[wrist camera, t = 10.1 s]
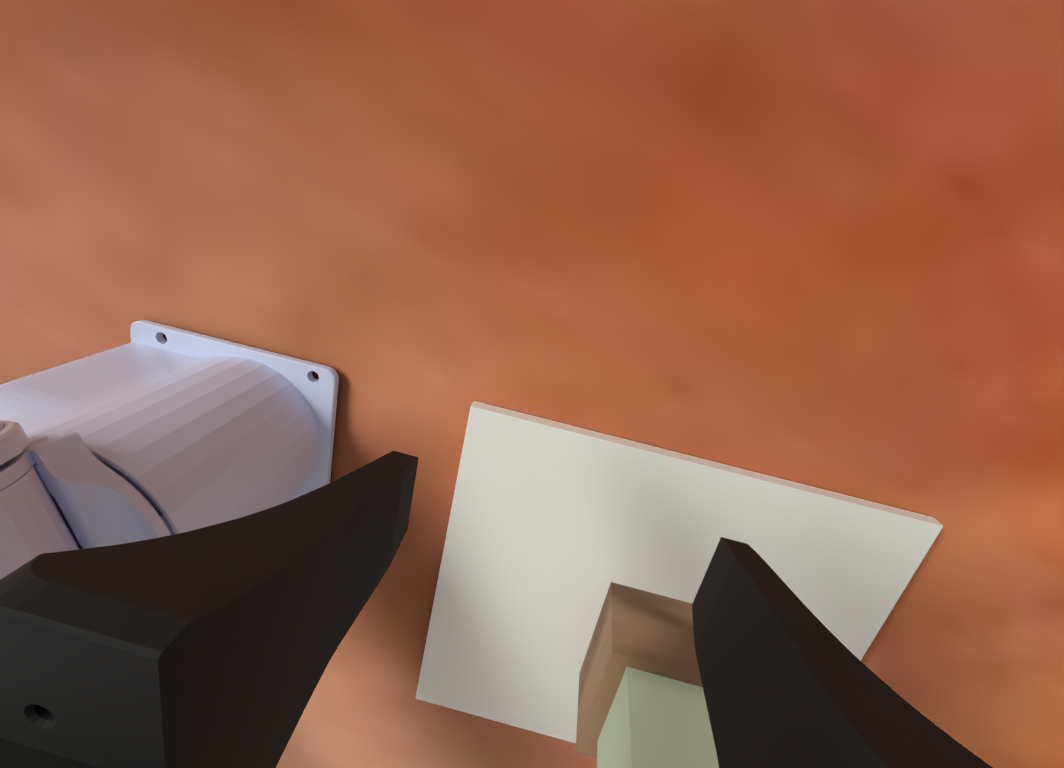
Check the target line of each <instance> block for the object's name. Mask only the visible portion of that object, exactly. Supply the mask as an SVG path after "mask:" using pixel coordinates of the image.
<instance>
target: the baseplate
mask: <svg viewBox="0 0 1064 768" xmlns="http://www.w3.org/2000/svg"><path fill="white" fill-rule="evenodd" d="M942 528H943V525H942V524H941V523H940V522H939V521H938V520H937V519H936V518H935V517H931V516H927V515H923V514H919V513H915V512H911V511H907V510H903V509H899V508H895V507H891V506H887V505H883V504H879V503H875V502H871V501H868V500H864V499H860V498H856V497H852V496H848V495H844V494H840V493H836V492H832V491H828V490H824V489H820V488H816V487H812V486H808V485H804V484H800V483H797V482H793V481H789V480H785V479H781V478H777V477H773V476H769V475H765V474H761V473H757V472H753V471H749V470H745V469H741V468H737V467H733V466H729V465H725V464H722V463H718V462H714V461H710V460H706V459H702V458H698V457H694V456H690V455H686V454H682V453H678V452H674V451H670V450H666V449H662V448H658V447H654V446H651V445H647V444H643V443H639V442H635V441H631V440H627V439H623V438H619V437H615V436H611V435H607V434H603V433H599V432H595V431H591V430H587V429H583V428H580V427H576V426H572V425H568V424H564V423H560V422H556V421H552V420H548V419H544V418H540V417H536V416H532V415H528V414H524V413H520V412H516V411H512V410H508V409H505V408H501V407H497V406H493V405H489V404H485V403H481V402H477V401H474V402H473V403H472V405H471V408H470V413H469V418H468V423H467V429H466V434H465V439H464V444H463V450H462V455H461V460H460V465H459V471H458V476H457V481H456V487H455V492H454V497H453V502H452V508H451V513H450V518H449V523H448V529H447V534H446V539H445V545H444V550H443V555H442V560H441V566H440V571H439V576H438V581H437V587H436V592H435V597H434V602H433V608H432V613H431V618H430V624H429V629H428V634H427V639H426V645H425V650H424V655H423V660H422V666H421V671H420V676H419V682H418V687H417V692H416V697H415V699H419V700H422V701H426V702H429V703H433V704H437V705H440V706H444V707H447V708H451V709H454V710H458V711H462V712H465V713H469V714H472V715H476V716H479V717H483V718H487V719H490V720H494V721H497V722H501V723H504V724H508V725H512V726H515V727H519V728H522V729H526V730H529V731H533V732H537V733H540V734H544V735H547V736H551V737H554V738H558V739H562V740H565V741H569V742H572V743H576V733H577V713H578V692H579V673H580V670H581V667H582V664H583V661H584V658H585V655H586V653H587V650H588V647H589V644H590V641H591V638H592V635H593V632H594V629H595V627H596V624H597V621H598V618H599V615H600V612H601V609H602V606H603V603H604V601H605V598H606V595H607V592H608V589H609V586H610V583H611V582H613V583H617V584H620V585H624V586H628V587H632V588H636V589H639V590H643V591H647V592H651V593H654V594H658V595H662V596H666V597H669V598H673V599H677V600H681V601H685V602H688V603H692V604H693V601H694V599H695V597H696V594H697V592H698V590H699V587H700V585H701V583H702V580H703V578H704V576H705V573H706V571H707V569H708V566H709V564H710V562H711V559H712V557H713V555H714V552H715V550H716V548H717V545H718V543H719V541H720V538H721V537H723V538H727V539H731V540H735V541H739V542H742V543H746V544H748V545H749V546H750V547H752V548H753V549H754V550H755V551H756V552H757V553H758V554H759V555H760V557H761V558H762V559H763V560H764V561H765V562H766V563H767V564H768V565H769V566H770V567H771V568H772V570H773V571H774V572H775V573H776V574H777V575H778V576H779V577H780V578H781V579H782V581H783V582H784V583H785V584H786V585H787V586H788V587H789V588H790V589H791V590H792V592H793V593H794V594H795V595H796V596H797V597H798V598H799V599H800V600H801V601H802V602H803V604H804V605H805V606H806V607H807V608H808V609H809V610H810V611H811V612H812V613H813V614H814V615H815V616H816V617H817V618H818V619H819V621H820V622H821V623H822V624H823V625H824V626H825V627H826V628H827V629H828V630H829V631H830V632H831V633H832V634H833V635H834V636H835V637H836V638H837V639H838V640H839V641H840V642H841V643H842V644H843V645H844V646H845V647H846V648H847V649H848V650H849V651H850V652H851V653H852V654H853V655H855V656H856V657H857V658H858V659H859V660H860V661H861V659H862V658H863V656H864V654H865V653H866V651H867V650H868V648H869V646H870V645H871V643H872V641H873V640H874V638H875V637H876V635H877V633H878V632H879V630H880V628H881V627H882V625H883V624H884V622H885V620H886V619H887V617H888V615H889V614H890V612H891V611H892V609H893V607H894V606H895V604H896V602H897V601H898V599H899V597H900V596H901V594H902V593H903V591H904V589H905V588H906V586H907V584H908V583H909V581H910V580H911V578H912V576H913V575H914V573H915V571H916V570H917V568H918V567H919V565H920V563H921V562H922V560H923V558H924V557H925V555H926V554H927V552H928V550H929V549H930V547H931V545H932V544H933V542H934V541H935V539H936V537H937V536H938V534H939V532H940V531H941V529H942Z"/></svg>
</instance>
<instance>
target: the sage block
mask: <svg viewBox="0 0 1064 768" xmlns="http://www.w3.org/2000/svg"><path fill="white" fill-rule="evenodd" d="M597 768H719V765H718V759H717V753H716V748H715V743H714V738H713V733H712V729H711V724H710V719H709V714H708V710H707V705H706V700H705V696H704V691H703V687H699V686H696V685H692V684H688V683H685V682H681V681H677V680H674V679H670V678H666V677H663V676H659V675H656V674H652V673H648V672H645V671H641V670H637V669H634V668H630V667H626V670H625V672H624V675H623V677H622V680H621V682H620V685H619V688H618V690H617V693H616V695H615V698H614V700H613V703H612V705H611V708H610V710H609V713H608V715H607V718H606V721H605V723H604V726H603V728H602V731H601V733H600V736H599V738H598V741H597Z"/></svg>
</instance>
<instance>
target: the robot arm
mask: <svg viewBox="0 0 1064 768" xmlns="http://www.w3.org/2000/svg"><path fill="white" fill-rule="evenodd" d="M130 332H131V343H129V344H125V345H122V346H119V347H116V348H113V349H110V350H107V351H104V352H100V353H97V354H94V355H91V356H88V357H85V358H82V359H78V360H75V361H72V362H69V363H66V364H63V365H60V366H57V367H53V368H50V369H47V370H44V371H41V372H38V373H35V374H32V375H28V376H25V377H22V378H19V379H16V380H13V381H10V382H7V383H4V384H1V385H0V768H276V766H277V764H278V762H279V759H280V757H281V755H282V753H283V751H284V749H285V747H286V745H287V743H288V741H289V739H290V737H291V735H292V733H293V731H294V729H295V727H296V725H297V723H298V721H299V719H300V717H301V715H302V713H303V711H304V709H305V707H306V705H307V703H308V701H309V699H310V697H311V695H312V693H313V691H314V689H315V688H316V686H317V684H318V682H319V680H320V678H321V676H322V674H323V672H324V670H325V668H326V666H327V664H328V663H329V661H330V659H331V657H332V656H333V654H334V652H335V651H336V649H337V647H338V645H339V644H340V642H341V641H342V639H343V638H344V636H345V635H346V633H347V631H348V630H349V628H350V627H351V625H352V624H353V622H354V621H355V619H356V617H357V616H358V614H359V613H360V611H361V610H362V608H363V607H364V605H365V604H366V602H367V600H368V599H369V597H370V596H371V594H372V593H373V591H374V590H375V588H376V586H377V585H378V583H379V582H380V580H381V578H382V577H383V575H384V574H385V572H386V571H387V569H388V567H389V566H390V564H391V562H392V560H393V558H394V556H395V554H396V552H397V550H398V548H399V545H400V543H401V541H402V539H403V537H404V535H405V532H406V530H407V528H408V521H409V515H410V509H411V502H412V496H413V489H414V483H415V476H416V470H417V463H418V457H415V456H411V455H407V454H403V453H400V452H396V451H393V452H390V453H388V454H386V455H384V456H382V457H380V458H378V459H377V460H375V461H373V462H371V463H369V464H367V465H365V466H363V467H361V468H359V469H357V470H355V471H353V472H351V473H349V474H347V475H345V476H343V477H341V478H339V479H337V480H335V481H333V482H331V483H330V478H331V466H332V454H333V443H334V431H335V419H336V408H337V396H338V384H339V376H338V374H337V372H336V371H335V370H334V369H333V368H331V367H329V366H325V365H321V364H317V363H313V362H309V361H305V360H301V359H298V358H294V357H290V356H286V355H282V354H278V353H274V352H270V351H266V350H262V349H258V348H254V347H250V346H246V345H242V344H238V343H234V342H231V341H227V340H223V339H219V338H215V337H211V336H207V335H203V334H199V333H195V332H191V331H187V330H183V329H179V328H175V327H171V326H167V325H163V324H160V323H156V322H152V321H148V320H139V321H136V322H134V323H132V325H131V328H130ZM163 334H165V336H166V337H167V340H165V338H164V337H163ZM312 371H314V372H316V373H317V374H318V376H319V379H316V378H314V377H313V375H312ZM692 615H693V631H694V643H695V651H696V656H697V661H698V666H699V671H700V676H701V681H702V686H703V691H704V696H705V700H706V705H707V710H708V714H709V719H710V724H711V729H712V733H713V738H714V743H715V748H716V753H717V759H718V765H719V768H992V767H991V766H989V765H988V764H987V763H985V762H984V761H983V760H981V759H980V758H978V757H977V756H976V755H974V754H973V753H972V752H970V751H969V750H967V749H966V748H965V747H963V746H962V745H961V744H959V743H958V742H957V741H956V740H954V739H953V738H952V737H950V736H949V735H948V734H947V733H945V732H944V731H943V730H941V729H940V728H939V727H938V726H936V725H935V724H934V723H932V722H931V721H930V720H928V719H927V718H926V717H925V716H923V715H922V714H921V713H920V712H918V711H917V710H916V709H915V708H914V707H912V706H911V705H910V704H909V703H907V702H906V701H905V700H904V699H903V698H901V697H900V696H899V695H898V694H897V693H896V692H895V691H893V690H892V689H891V688H890V687H889V686H888V685H887V684H885V683H884V682H883V681H882V680H881V679H880V678H879V677H877V676H876V675H875V674H874V673H873V672H872V671H871V670H870V669H868V668H867V667H866V666H865V665H864V664H863V663H862V662H861V661H860V660H859V659H858V658H857V657H856V656H855V655H853V654H852V653H851V652H850V651H849V650H848V649H847V648H846V647H845V646H844V645H843V644H842V643H841V642H840V641H839V640H838V639H837V638H836V637H835V636H834V635H833V634H832V633H831V632H830V631H829V630H828V629H827V628H826V627H825V626H824V625H823V624H822V623H821V622H820V621H819V619H818V618H817V617H816V616H815V615H814V614H813V613H812V612H811V611H810V610H809V609H808V608H807V607H806V606H805V605H804V604H803V602H802V601H801V600H800V599H799V598H798V597H797V596H796V595H795V594H794V593H793V592H792V590H791V589H790V588H789V587H788V586H787V585H786V584H785V583H784V582H783V581H782V579H781V578H780V577H779V576H778V575H777V574H776V573H775V572H774V571H773V570H772V568H771V567H770V566H769V565H768V564H767V563H766V562H765V561H764V560H763V559H762V558H761V557H760V555H759V554H758V553H757V552H756V551H755V550H754V549H753V548H752V547H750V546H749V545H748V544H746V543H742V542H739V541H735V540H731V539H727V538H723V537H721V538H720V541H719V543H718V545H717V548H716V550H715V552H714V555H713V557H712V559H711V562H710V564H709V566H708V569H707V571H706V573H705V576H704V578H703V580H702V583H701V585H700V587H699V590H698V592H697V594H696V597H695V599H694V601H693V604H692Z"/></svg>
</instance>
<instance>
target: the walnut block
mask: <svg viewBox="0 0 1064 768" xmlns="http://www.w3.org/2000/svg"><path fill="white" fill-rule="evenodd" d="M626 667H630V668H634V669H637V670H641V671H645V672H648V673H652V674H656V675H659V676H663V677H666V678H670V679H674V680H677V681H681V682H685V683H688V684H692V685H696V686H699V687H703V686H702V681H701V676H700V671H699V666H698V661H697V656H696V651H695V643H694V631H693V615H692V603H688V602H685V601H681V600H677V599H673V598H669V597H666V596H662V595H658V594H654V593H651V592H647V591H643V590H639V589H636V588H632V587H628V586H624V585H620V584H617V583H613V582H611V583H610V586H609V589H608V592H607V595H606V598H605V601H604V603H603V606H602V609H601V612H600V615H599V618H598V621H597V624H596V627H595V629H594V632H593V635H592V638H591V641H590V644H589V647H588V650H587V653H586V655H585V658H584V661H583V664H582V667H581V670H580V673H579V692H578V713H577V733H576V752H579V753H583V754H586V755H590V756H594V757H597V741H598V738H599V736H600V733H601V731H602V728H603V726H604V723H605V721H606V718H607V715H608V713H609V710H610V708H611V705H612V703H613V700H614V698H615V695H616V693H617V690H618V688H619V685H620V682H621V680H622V677H623V675H624V672H625V670H626Z"/></svg>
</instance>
